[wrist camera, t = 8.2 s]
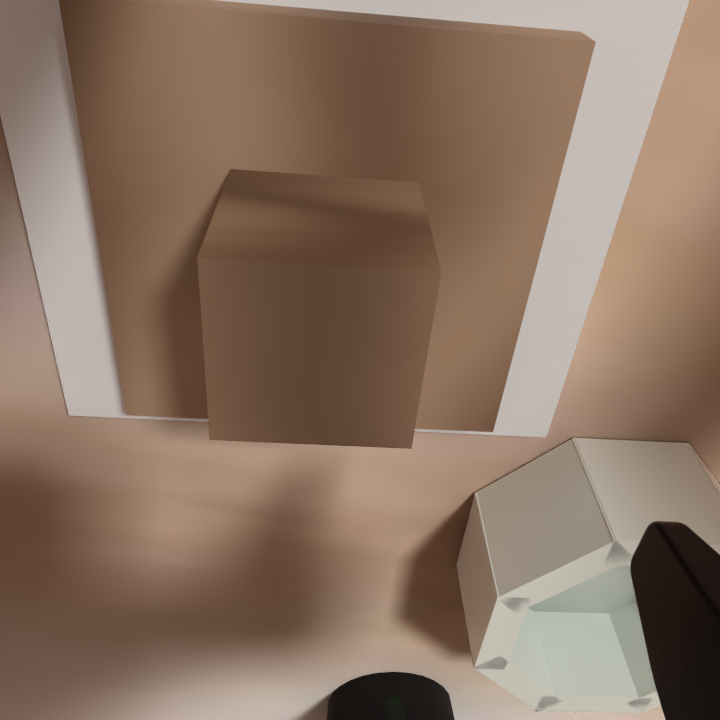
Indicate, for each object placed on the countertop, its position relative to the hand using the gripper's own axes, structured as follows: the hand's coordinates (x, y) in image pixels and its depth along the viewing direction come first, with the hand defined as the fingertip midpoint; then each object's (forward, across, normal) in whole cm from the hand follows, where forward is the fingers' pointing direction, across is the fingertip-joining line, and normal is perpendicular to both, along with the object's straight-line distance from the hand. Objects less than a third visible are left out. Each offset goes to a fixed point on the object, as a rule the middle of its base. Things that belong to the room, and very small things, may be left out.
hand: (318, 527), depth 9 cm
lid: (+9, 0, 0) cm, 9 cm away
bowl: (+10, -10, +11) cm, 18 cm away
